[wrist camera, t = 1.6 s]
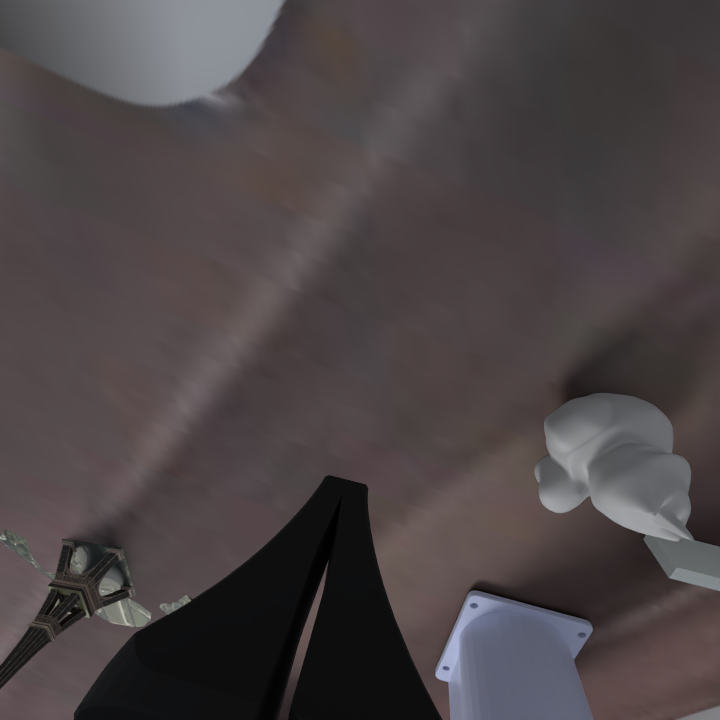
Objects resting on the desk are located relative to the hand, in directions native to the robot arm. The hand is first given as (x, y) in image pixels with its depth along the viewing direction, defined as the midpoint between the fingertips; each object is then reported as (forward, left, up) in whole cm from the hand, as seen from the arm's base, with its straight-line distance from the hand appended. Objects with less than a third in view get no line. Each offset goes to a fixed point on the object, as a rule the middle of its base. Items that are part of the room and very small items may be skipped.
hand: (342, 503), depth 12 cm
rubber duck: (0, -11, -10) cm, 15 cm away
